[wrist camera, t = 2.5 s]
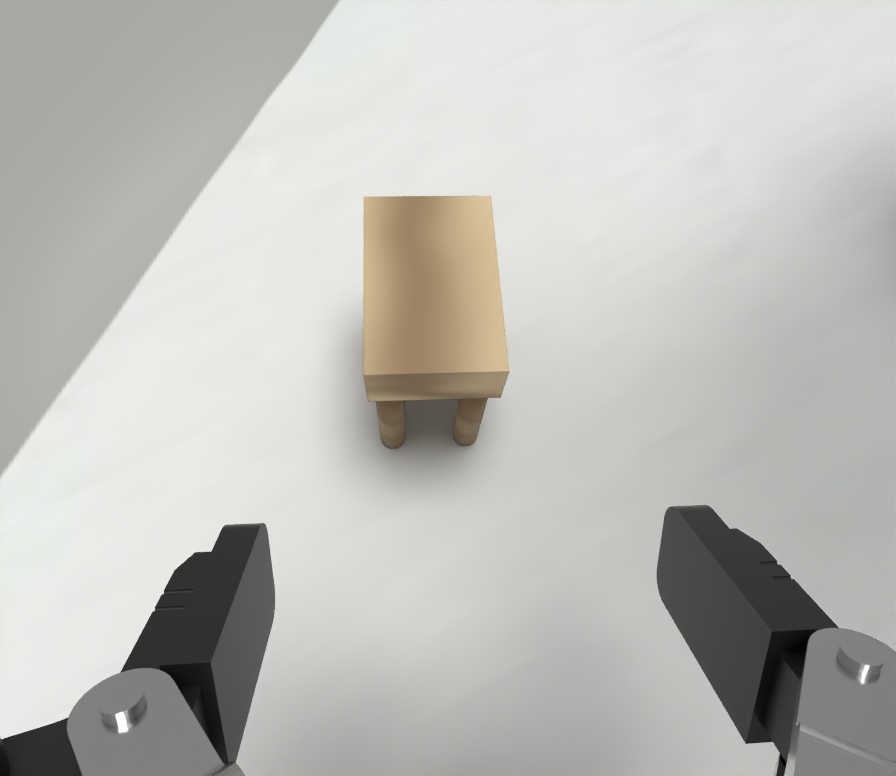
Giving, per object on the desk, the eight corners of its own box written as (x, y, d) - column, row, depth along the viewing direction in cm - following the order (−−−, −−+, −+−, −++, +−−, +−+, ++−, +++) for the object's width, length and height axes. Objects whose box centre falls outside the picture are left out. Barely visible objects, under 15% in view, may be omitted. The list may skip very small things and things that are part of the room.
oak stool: (471, 314, 34) (491, 196, 26) (482, 453, 31) (508, 371, 22) (376, 315, 34) (363, 196, 25) (377, 456, 31) (363, 374, 22)
